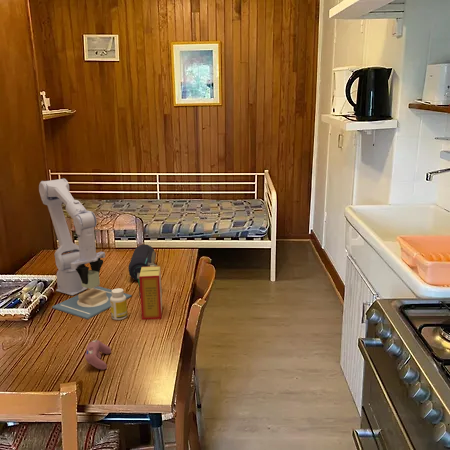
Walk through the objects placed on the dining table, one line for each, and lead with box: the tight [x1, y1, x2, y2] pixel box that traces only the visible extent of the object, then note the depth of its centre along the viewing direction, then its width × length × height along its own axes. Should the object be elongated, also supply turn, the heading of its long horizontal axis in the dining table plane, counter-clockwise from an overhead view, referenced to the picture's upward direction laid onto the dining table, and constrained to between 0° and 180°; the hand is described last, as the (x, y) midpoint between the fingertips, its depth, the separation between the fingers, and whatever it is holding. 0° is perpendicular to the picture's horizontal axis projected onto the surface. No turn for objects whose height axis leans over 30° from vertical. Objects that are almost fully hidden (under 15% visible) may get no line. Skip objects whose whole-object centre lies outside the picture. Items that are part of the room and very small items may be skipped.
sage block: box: [81, 269, 101, 290], centre depth 171 cm, size 4×4×6 cm
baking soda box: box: [139, 265, 163, 321], centre depth 162 cm, size 10×6×16 cm
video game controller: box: [84, 339, 112, 371], centre depth 134 cm, size 10×5×7 cm, turn 5°
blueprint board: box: [51, 285, 132, 320], centre depth 173 cm, size 18×22×4 cm
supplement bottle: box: [110, 287, 128, 321], centre depth 161 cm, size 5×5×10 cm
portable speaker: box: [128, 243, 157, 282], centre depth 202 cm, size 25×10×10 cm, turn 4°
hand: (90, 281), depth 171 cm, fingers closed on sage block, 4 cm apart
